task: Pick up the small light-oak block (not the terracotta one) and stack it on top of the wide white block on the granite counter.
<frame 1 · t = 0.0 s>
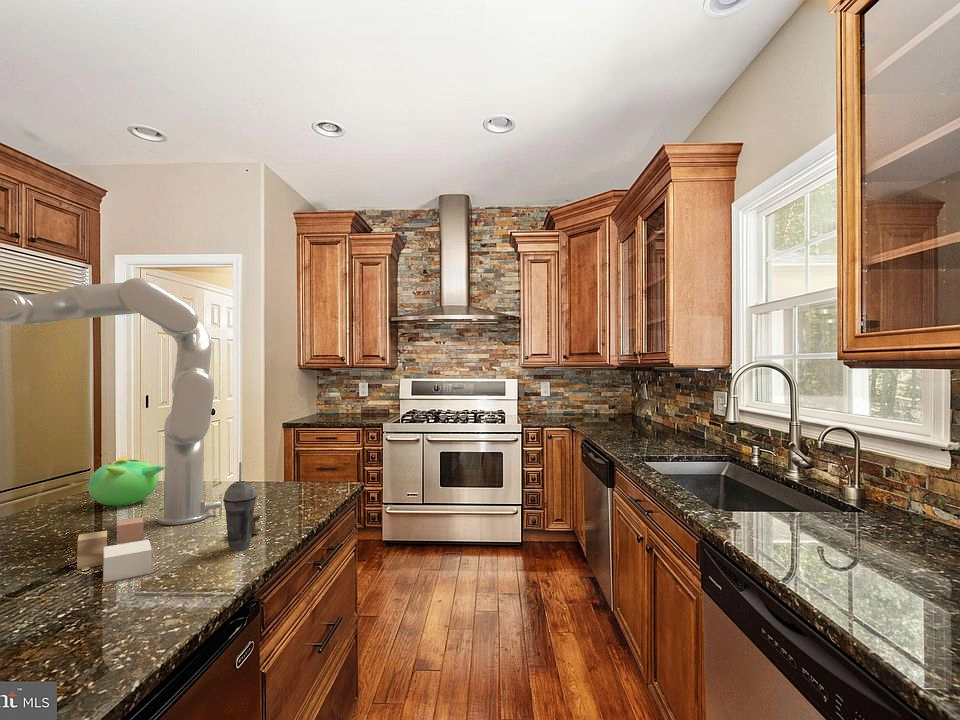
mushroom: (244, 535, 129), on the countertop
white block: (127, 572, 106), on the countertop
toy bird: (124, 505, 158), on the countertop
oak block: (92, 563, 110), on the countertop
beverage cup: (239, 547, 120), on the countertop
terracotta block: (129, 546, 121), on the countertop
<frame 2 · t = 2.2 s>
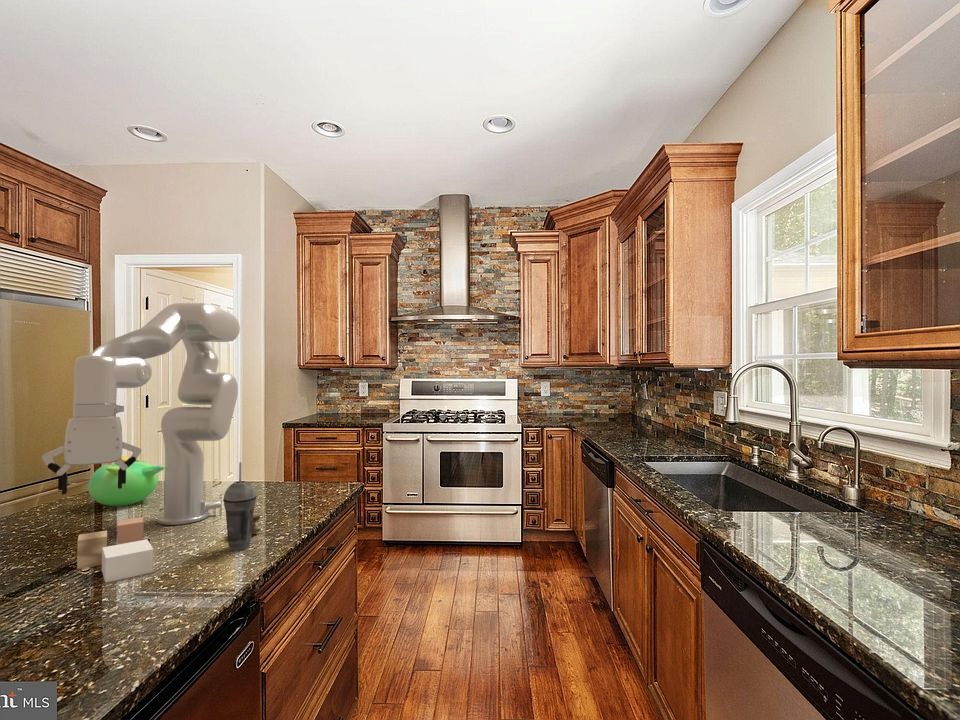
hand: (92, 490, 110), 16 cm above the countertop, fingers open, 9 cm apart
nothing on the countertop moved.
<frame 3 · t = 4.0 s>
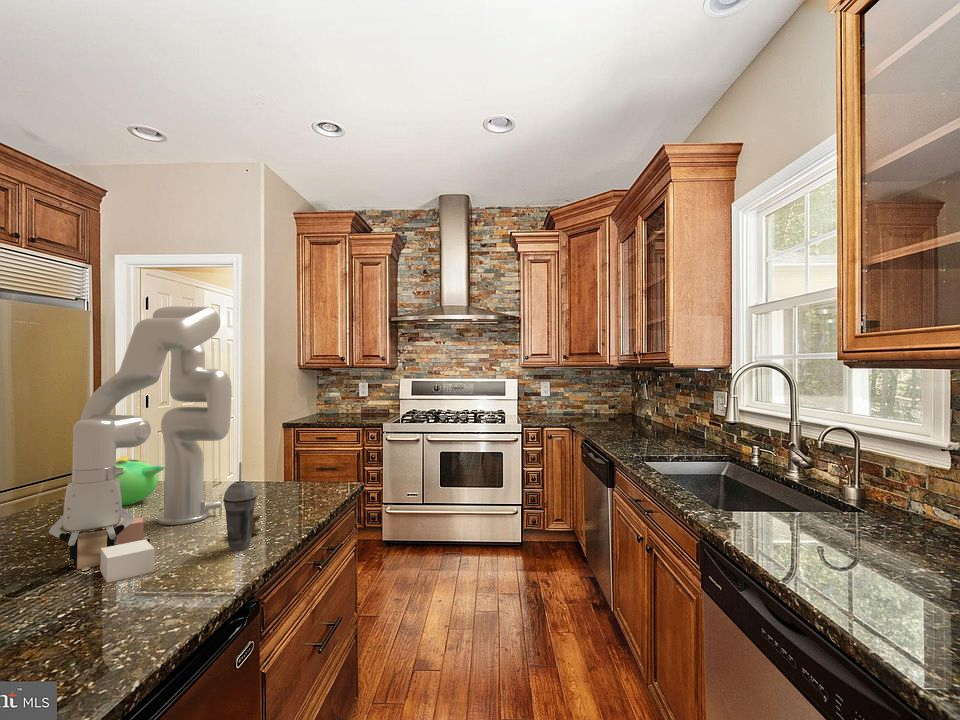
hand: (92, 558, 110), 1 cm above the countertop, fingers closed on oak block, 5 cm apart
oak block: (92, 563, 110), on the countertop, touching gripper
everything else where it was.
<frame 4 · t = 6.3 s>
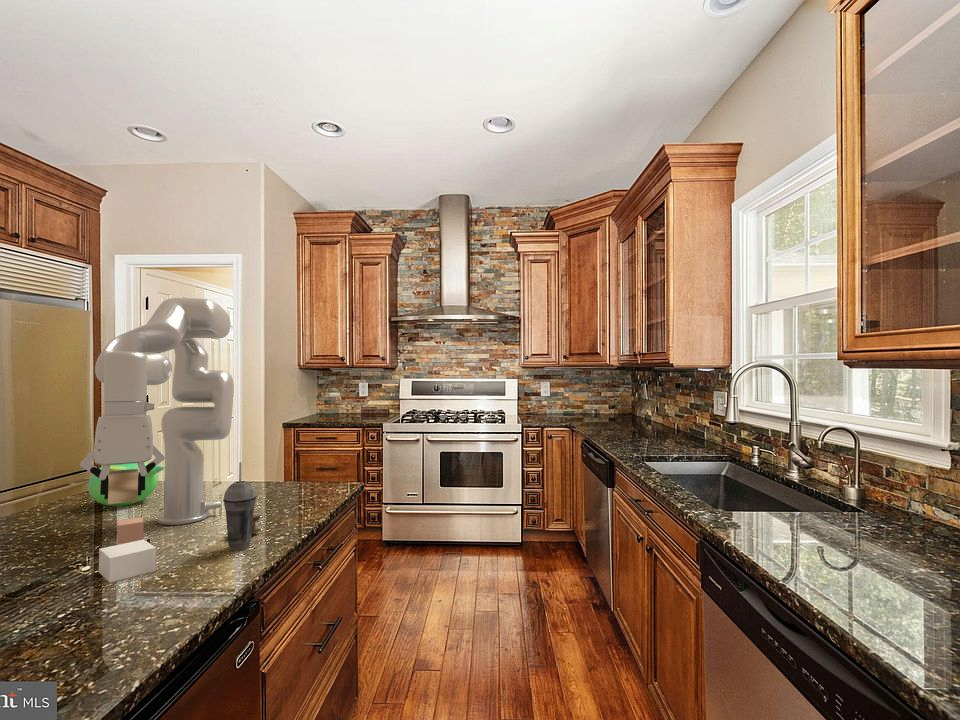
hand: (123, 495, 106), 16 cm above the countertop, fingers closed on oak block, 5 cm apart
oak block: (122, 500, 106), point 15 cm above the countertop, touching gripper
everything else where it was.
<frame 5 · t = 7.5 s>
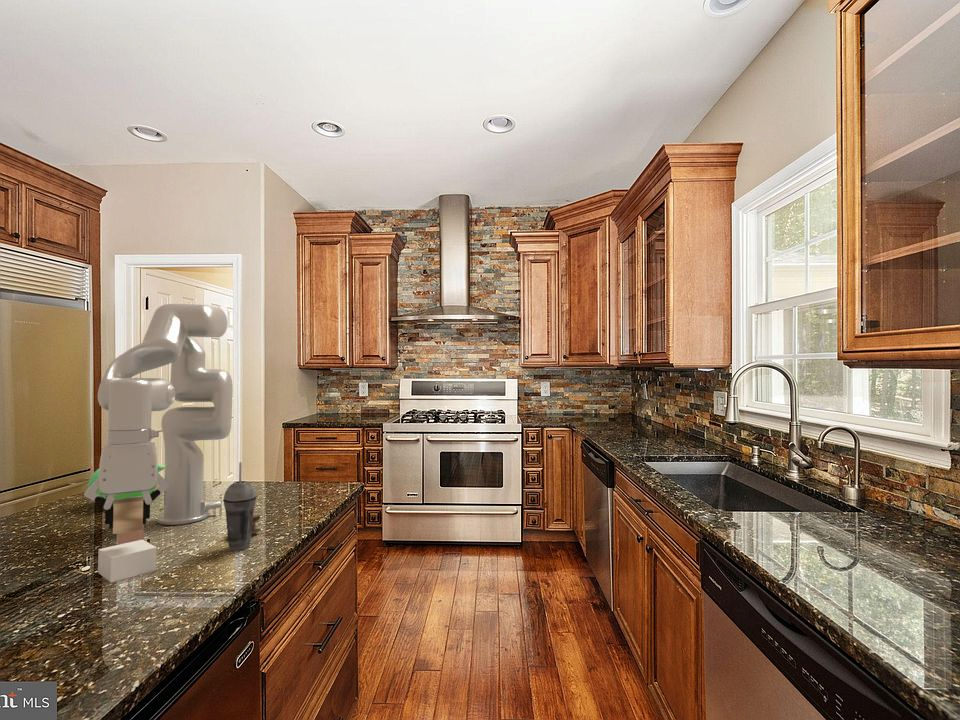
hand: (127, 524, 106), 10 cm above the countertop, fingers closed on oak block, 5 cm apart
oak block: (127, 528, 106), point 9 cm above the countertop, touching gripper
everything else where it was.
when the fingers open (7 cm above the countertop, at t = 8.4 s): oak block drops 1 cm, resting on white block.
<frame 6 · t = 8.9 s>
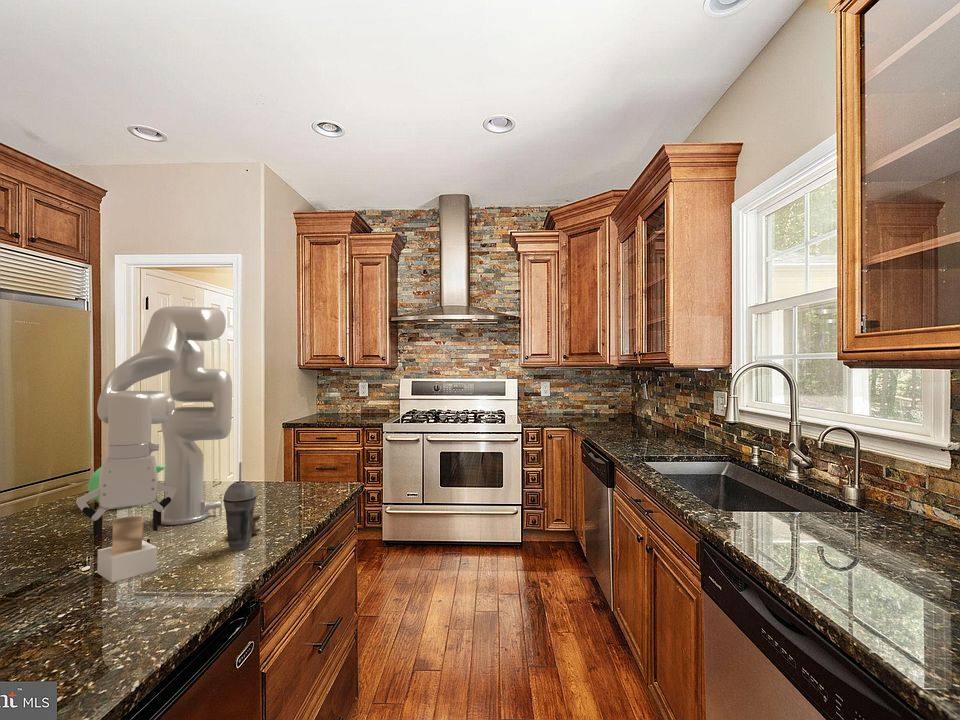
hand: (127, 533, 106), 8 cm above the countertop, fingers open, 9 cm apart
white block: (127, 572, 106), on the countertop, touching oak block
oak block: (127, 548, 106), point 5 cm above the countertop, touching white block
everything else where it was.
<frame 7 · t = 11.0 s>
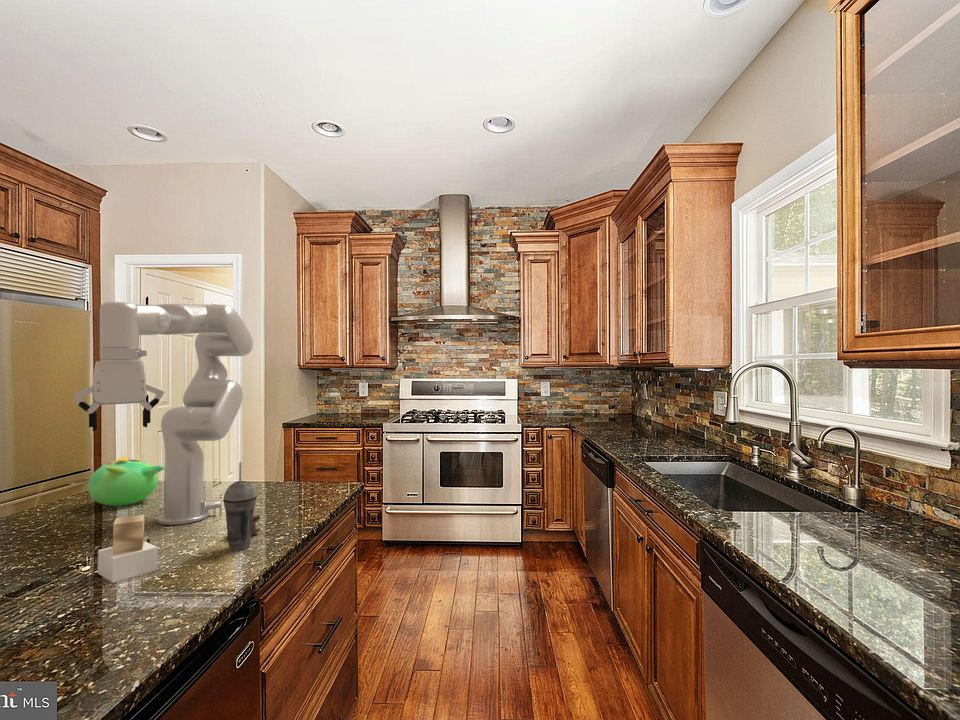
hand: (120, 428, 118), 28 cm above the countertop, fingers open, 9 cm apart
white block: (127, 572, 106), on the countertop
oak block: (128, 548, 106), point 5 cm above the countertop
everything else where it was.
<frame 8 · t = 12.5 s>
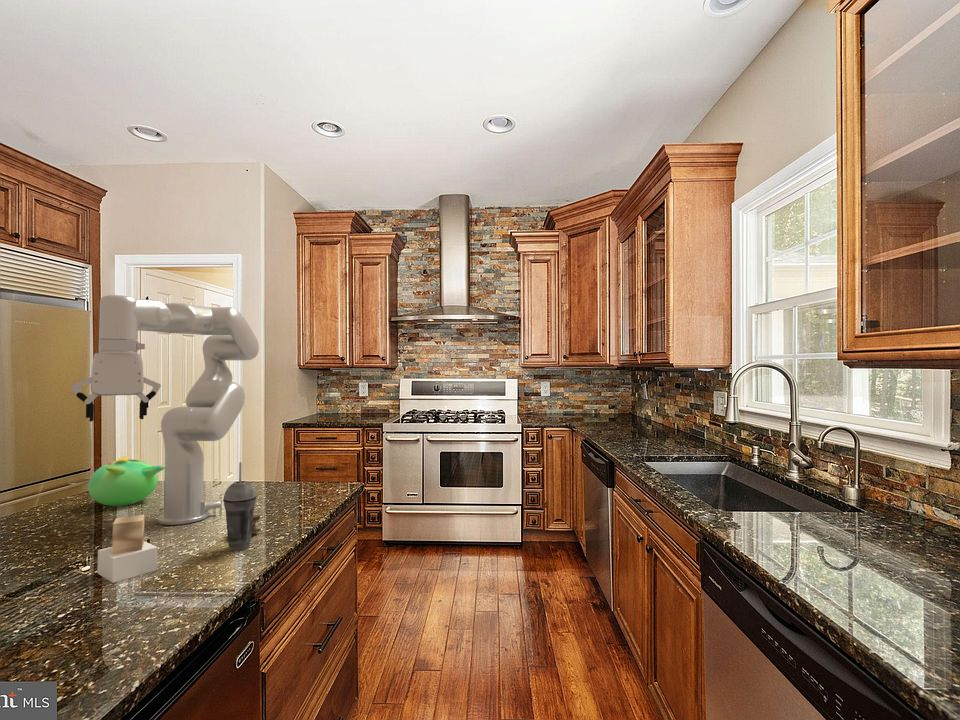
hand: (117, 419, 120), 30 cm above the countertop, fingers open, 9 cm apart
nothing on the countertop moved.
at the end: oak block 0.2 cm off-centre on the white block, point 5.0 cm above the white block's base; oak block tilted 0°; the gripper is holding nothing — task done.
